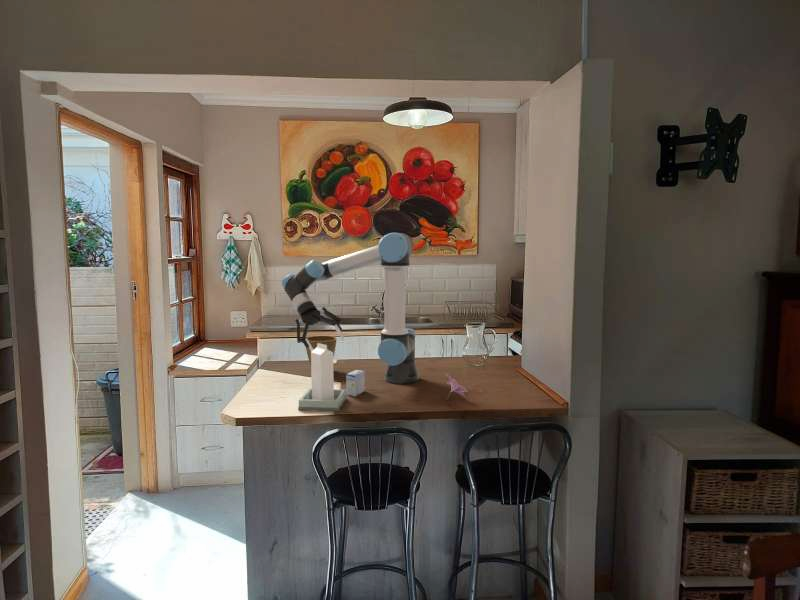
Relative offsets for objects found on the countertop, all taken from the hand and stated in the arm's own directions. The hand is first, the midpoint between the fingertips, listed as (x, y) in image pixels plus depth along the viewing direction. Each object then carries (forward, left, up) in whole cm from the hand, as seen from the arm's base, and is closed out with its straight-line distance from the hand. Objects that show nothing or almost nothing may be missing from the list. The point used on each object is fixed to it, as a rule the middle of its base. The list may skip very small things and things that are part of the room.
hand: (328, 345), depth 208 cm
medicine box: (-11, +2, -19) cm, 22 cm away
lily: (-52, +6, -19) cm, 55 cm away
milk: (-1, +17, -18) cm, 25 cm away
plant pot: (+11, -30, -19) cm, 37 cm away
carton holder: (-1, +17, -19) cm, 26 cm away
